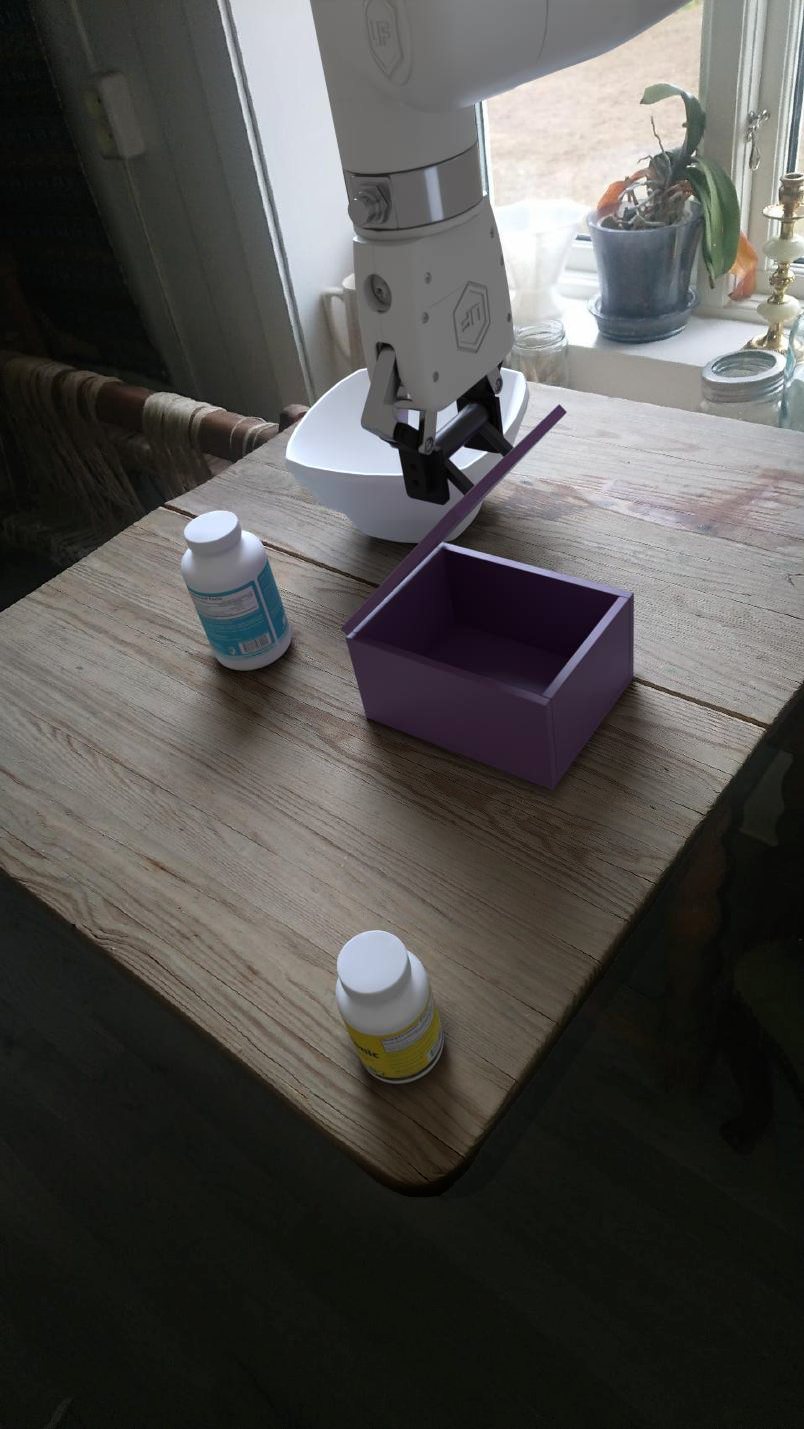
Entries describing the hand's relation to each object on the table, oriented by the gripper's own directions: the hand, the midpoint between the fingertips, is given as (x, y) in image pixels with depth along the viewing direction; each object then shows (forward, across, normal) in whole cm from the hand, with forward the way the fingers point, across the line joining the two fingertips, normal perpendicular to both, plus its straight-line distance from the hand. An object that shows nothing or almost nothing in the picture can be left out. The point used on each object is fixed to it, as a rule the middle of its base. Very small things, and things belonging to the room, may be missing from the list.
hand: (456, 471), depth 66 cm
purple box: (+21, 0, -1) cm, 21 cm away
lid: (+5, 0, +1) cm, 5 cm away
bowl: (+21, +20, +20) cm, 35 cm away
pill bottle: (+21, -4, +23) cm, 32 cm away
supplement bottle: (+22, -29, -11) cm, 38 cm away
